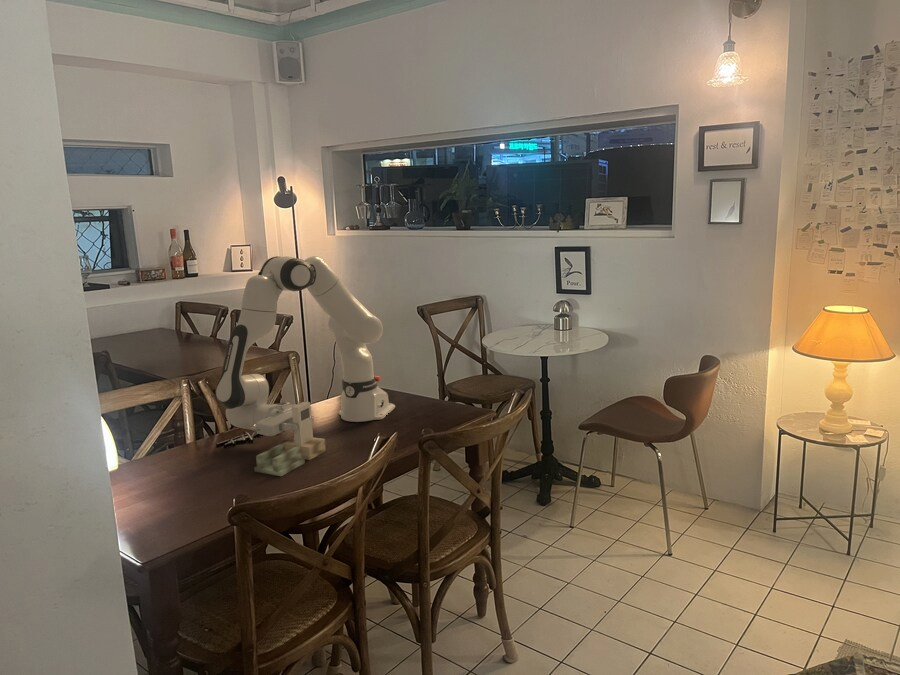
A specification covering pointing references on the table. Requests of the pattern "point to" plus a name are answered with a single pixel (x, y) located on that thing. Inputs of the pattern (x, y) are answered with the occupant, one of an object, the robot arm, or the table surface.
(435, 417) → the table surface
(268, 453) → the rack
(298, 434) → the white block with panel
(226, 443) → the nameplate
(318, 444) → the stand
